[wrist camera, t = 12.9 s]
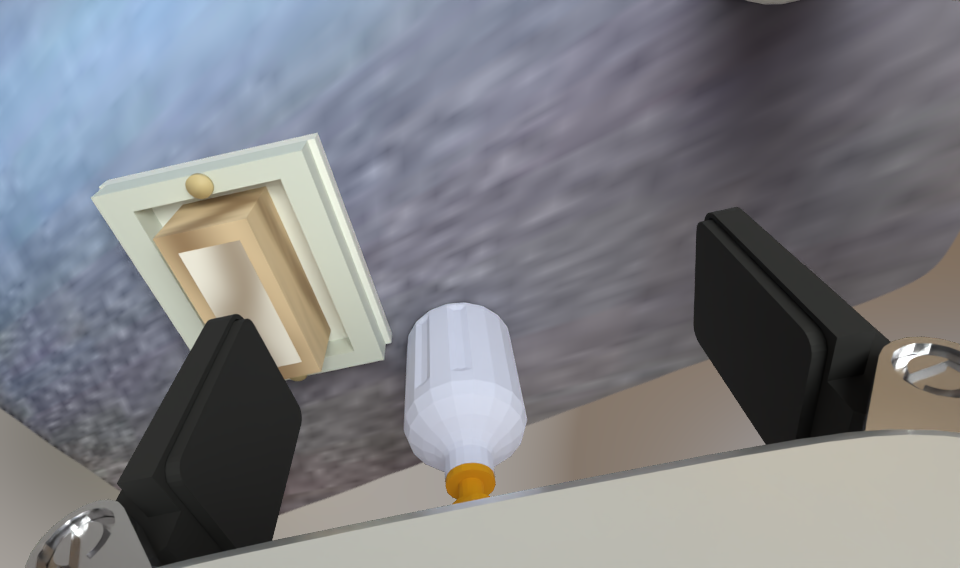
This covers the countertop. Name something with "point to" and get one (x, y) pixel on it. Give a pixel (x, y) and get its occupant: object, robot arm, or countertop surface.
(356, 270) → the cream rectangular tray
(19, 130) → the countertop surface
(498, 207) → the countertop surface
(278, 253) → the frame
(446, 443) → the soap bottle
